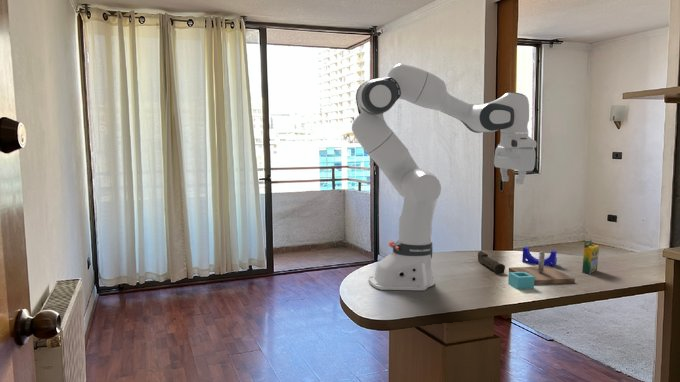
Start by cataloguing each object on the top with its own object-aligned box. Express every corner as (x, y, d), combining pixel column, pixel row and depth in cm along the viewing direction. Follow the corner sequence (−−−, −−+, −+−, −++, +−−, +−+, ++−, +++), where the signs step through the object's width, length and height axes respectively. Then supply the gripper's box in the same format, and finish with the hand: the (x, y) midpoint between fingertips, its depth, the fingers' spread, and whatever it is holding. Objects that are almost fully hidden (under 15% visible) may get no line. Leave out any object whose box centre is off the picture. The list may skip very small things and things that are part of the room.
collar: (517, 289, 162) (518, 277, 162) (508, 283, 168) (508, 272, 168) (533, 288, 163) (534, 276, 163) (524, 283, 169) (524, 271, 169)
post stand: (532, 284, 168) (534, 257, 167) (508, 271, 183) (510, 246, 182) (574, 282, 170) (576, 256, 169) (547, 270, 186) (549, 245, 185)
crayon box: (590, 274, 181) (592, 243, 180) (581, 272, 184) (583, 242, 182) (597, 270, 186) (599, 240, 185) (589, 269, 188) (591, 239, 187)
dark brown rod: (505, 274, 180) (505, 262, 180) (494, 274, 180) (495, 262, 179) (484, 261, 199) (485, 250, 198) (475, 261, 199) (476, 250, 198)
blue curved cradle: (556, 264, 195) (557, 250, 194) (554, 267, 191) (555, 252, 190) (525, 260, 201) (525, 245, 200) (522, 262, 198) (523, 247, 197)
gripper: (490, 141, 174) (488, 179, 176) (521, 142, 154) (519, 185, 156) (506, 141, 175) (505, 179, 177) (539, 142, 155) (537, 185, 157)
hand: (512, 182), depth 166 cm, fingers open, 8 cm apart
